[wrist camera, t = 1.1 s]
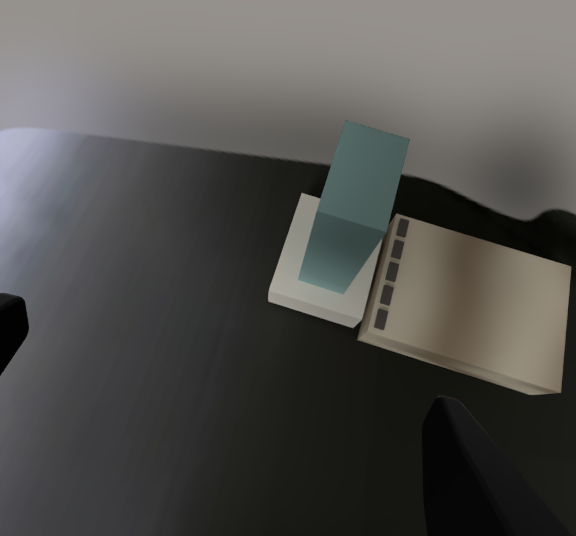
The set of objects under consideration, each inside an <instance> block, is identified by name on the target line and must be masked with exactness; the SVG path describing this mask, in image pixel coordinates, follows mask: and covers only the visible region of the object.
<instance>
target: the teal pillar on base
mask: <svg viewBox="0 0 576 536" xmlns="http://www.w3.org/2000/svg"><path fill="white" fill-rule="evenodd" d="M409 140H410V139H408V138H404V137H400V136H397V135H394V134H390V133H387V132H384V131H380V130H377V129H374V128H370V127H367V126H364V125H360V124H357V123H353V122H350V121H347V120H346V121H345V124H344V127H343V130H342V133H341V136H340V139H339V143H338V146H337V149H336V152H335V155H334V158H333V161H332V164H331V168H330V171H329V174H328V177H327V180H326V183H325V186H324V190H323V193H322V196H321V199H320V198H317V197H313V196H310V195H307V194H303V193H302V194H301V197H300V200H299V203H298V206H297V209H296V212H295V215H294V218H293V221H292V223H291V226H290V229H289V232H288V235H287V238H286V241H285V244H284V247H283V250H282V253H281V256H280V259H279V262H278V265H277V268H276V271H275V274H274V277H273V280H272V283H271V286H270V289H269V296H268V301H269V302H272V303H275V304H278V305H281V306H285V307H288V308H291V309H294V310H297V311H300V312H304V313H307V314H310V315H313V316H316V317H319V318H323V319H326V320H329V321H332V322H335V323H338V324H342V325H345V326H348V327H351V328H354V327H355V326H356V325H357V324H358V323H359V322H360V321H361V320H362V318H363V314H364V310H365V306H366V302H367V298H368V294H369V290H370V286H371V282H372V278H373V274H374V270H375V266H376V262H377V258H378V254H379V250H380V246H381V242H382V238H383V236H384V235H385V233H386V232H387V228H388V224H389V220H390V216H391V212H392V208H393V204H394V200H395V196H396V192H397V188H398V184H399V180H400V176H401V172H402V168H403V164H404V160H405V155H406V152H407V148H408V144H409Z"/></svg>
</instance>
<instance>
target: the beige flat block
mask: <svg viewBox="0 0 576 536" xmlns="http://www.w3.org/2000/svg"><path fill="white" fill-rule="evenodd" d="M570 276H571V266H567V265H564V264H561V263H558V262H554V261H551V260H548V259H544V258H541V257H538V256H534V255H531V254H528V253H525V252H521V251H518V250H515V249H511V248H508V247H505V246H502V245H498V244H495V243H492V242H488V241H485V240H482V239H478V238H475V237H472V236H469V235H465V234H462V233H459V232H455V231H452V230H449V229H445V228H442V227H439V226H436V225H432V224H429V223H426V222H422V221H419V220H416V219H413V218H409V217H406V216H403V215H399V214H396V215H395V217H394V218H393V220H392V221H391V223H390V224H389V226H388V228H387V232H386V233H385V235H384V236H383V239H382V243H381V247H380V251H379V255H378V259H377V263H376V267H375V270H374V274H373V278H372V282H371V286H370V290H369V294H368V298H367V302H366V306H365V310H364V314H363V318H362V322H361V326H360V330H359V334H358V338H357V340H359V341H362V342H365V343H368V344H372V345H375V346H378V347H381V348H384V349H387V350H390V351H394V352H397V353H400V354H403V355H406V356H409V357H412V358H416V359H419V360H422V361H425V362H428V363H431V364H435V365H438V366H441V367H444V368H447V369H450V370H453V371H457V372H460V373H463V374H466V375H469V376H472V377H476V378H479V379H482V380H485V381H488V382H491V383H494V384H498V385H501V386H504V387H507V388H510V389H513V390H517V391H520V392H523V393H526V394H529V395H537V394H550V393H561V384H562V372H563V360H564V348H565V336H566V324H567V312H568V300H569V288H570Z"/></svg>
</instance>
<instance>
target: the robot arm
mask: <svg viewBox="0 0 576 536" xmlns="http://www.w3.org/2000/svg"><path fill="white" fill-rule="evenodd" d="M28 331H29V324H28V317H27V311H26V304H25V301H24V299H23V298H21V297H20V296H16V295H11V294H7V293H0V375H1V374H2V372H3V371H4V369H5V368H6V367H7V365H8V364H9V362H10V361H11V359H12V358H13V356H14V355H15V353H16V352H17V350H18V349H19V347H20V346H21V344H22V343H23V341H24V340H25V338H26V336H27V334H28ZM422 454H423V496H424V509H425V518H426V526H427V534H428V536H573V535H572V534H571V533H570V532H569V531H568V529H567V528H566V527H565V526H564V525H563V523H562V522H561V521H560V520H559V519H558V517H557V516H556V515H555V514H554V513H553V512H552V510H551V509H550V508H549V507H548V506H547V504H546V503H545V502H544V501H543V500H542V498H541V497H540V496H539V495H538V494H537V492H536V491H535V490H534V489H533V488H532V486H531V485H530V484H529V483H528V482H527V480H526V479H525V478H524V477H523V476H522V474H521V473H520V472H519V471H518V470H517V468H516V467H515V466H514V465H513V464H512V463H511V461H510V460H509V459H508V458H507V457H506V455H505V454H504V453H503V452H502V451H501V449H500V448H499V447H498V446H497V445H496V443H495V442H494V441H493V440H492V439H491V437H490V436H489V435H488V434H487V433H486V431H485V430H484V429H483V428H482V427H481V425H480V424H479V423H478V422H477V421H476V419H475V418H474V417H473V416H472V415H471V413H470V412H469V411H468V410H467V409H466V408H465V406H464V405H463V404H462V403H461V402H460V401H459V400H458V399H455V398H451V397H447V396H442V395H441V396H438V397H437V398H436V399H435V401H434V402H433V404H432V406H431V408H430V410H429V412H428V414H427V416H426V418H425V420H424V422H423V427H422Z"/></svg>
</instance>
